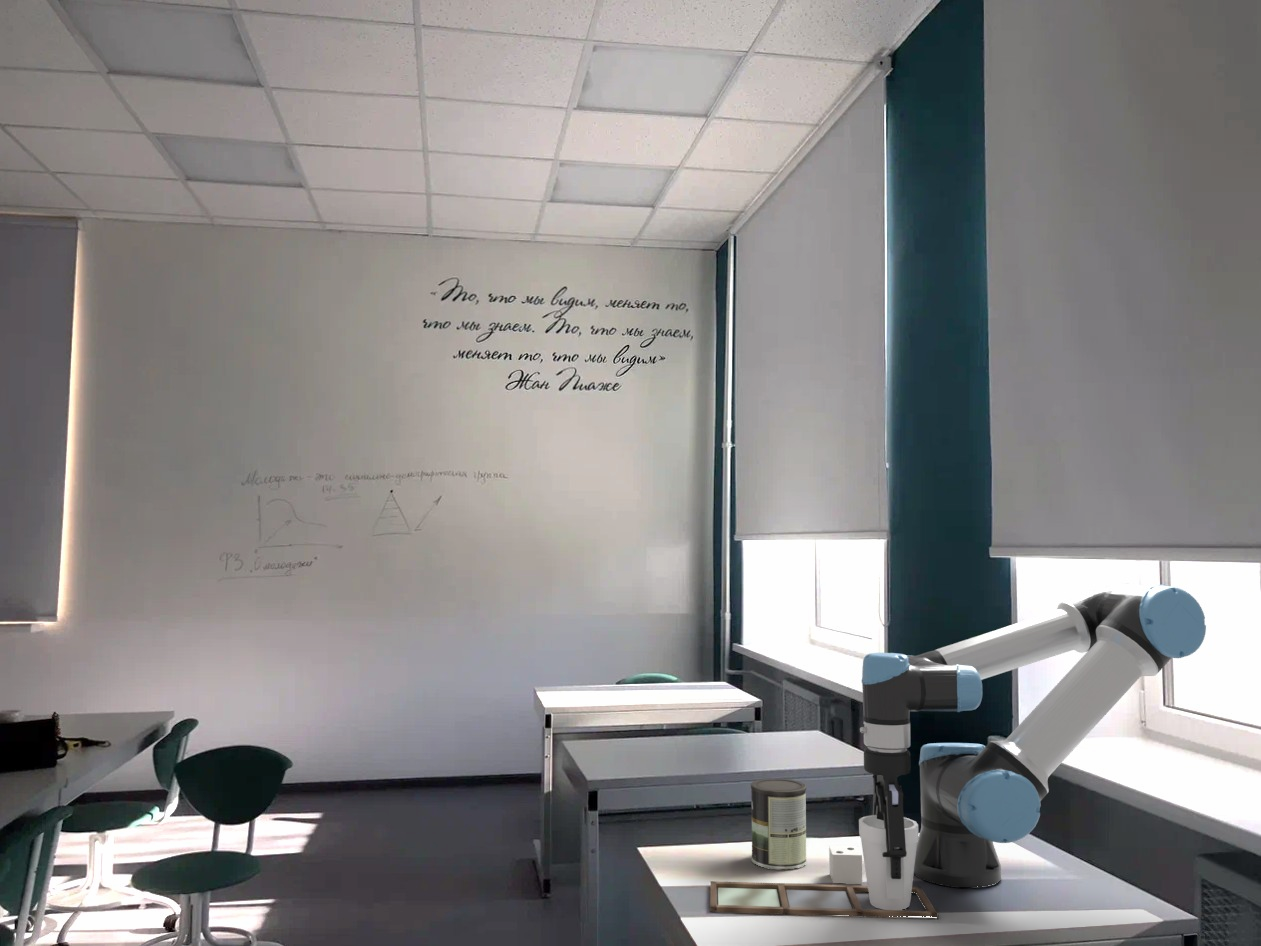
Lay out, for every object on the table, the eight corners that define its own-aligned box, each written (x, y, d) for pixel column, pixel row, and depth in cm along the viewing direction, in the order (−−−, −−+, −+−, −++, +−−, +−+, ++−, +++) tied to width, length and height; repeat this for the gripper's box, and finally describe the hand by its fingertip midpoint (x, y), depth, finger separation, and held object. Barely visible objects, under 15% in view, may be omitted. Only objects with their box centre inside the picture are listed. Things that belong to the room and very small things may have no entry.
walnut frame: (920, 892, 167) (920, 887, 167) (937, 919, 155) (937, 913, 155) (710, 886, 170) (710, 881, 170) (710, 912, 157) (710, 906, 157)
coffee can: (742, 864, 182) (741, 786, 183) (764, 850, 190) (763, 776, 192) (795, 874, 176) (794, 793, 178) (815, 859, 185) (814, 782, 186)
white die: (858, 875, 176) (857, 846, 176) (862, 885, 171) (861, 854, 171) (829, 874, 176) (829, 845, 177) (833, 884, 171) (832, 854, 172)
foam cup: (856, 909, 159) (855, 826, 160) (863, 891, 167) (862, 812, 168) (917, 917, 155) (916, 832, 156) (921, 898, 164) (920, 818, 165)
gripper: (854, 735, 175) (856, 865, 173) (874, 761, 153) (877, 910, 151) (897, 736, 174) (899, 866, 172) (924, 762, 152) (927, 912, 150)
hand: (889, 887), depth 161 cm, fingers closed on foam cup, 9 cm apart
